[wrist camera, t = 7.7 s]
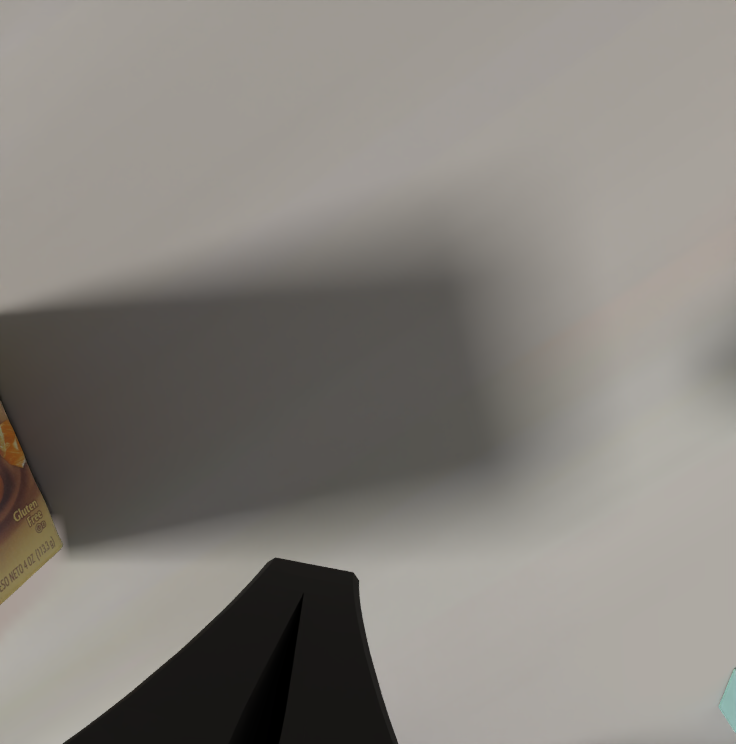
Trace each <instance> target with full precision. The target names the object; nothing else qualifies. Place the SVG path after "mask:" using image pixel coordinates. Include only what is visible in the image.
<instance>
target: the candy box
mask: <svg viewBox="0 0 736 744" xmlns="http://www.w3.org/2000/svg"><path fill="white" fill-rule="evenodd" d="M62 546H63V543H62V541H61V539H60V538H59V535H58V533H57V531H56V528H55V525H54V523H53V520H52V518H51V515H50V513H49V510H48V508H47V506H46V503H45V501H44V499H43V496H42V494H41V492H40V490H39V488H38V486H37V484H36V482H35V480H34V478H33V476H32V473H31V471H30V469H29V466H28V464H27V461H26V459H25V456H24V453H23V451H22V448H21V446H20V444H19V442H18V439H17V437H16V435H15V432H14V430H13V428H12V426H11V424H10V422H9V420H8V417H7V415H6V413H5V410H4V408H3V406H2V403H1V401H0V605H1V604H2V603H3V602H4V601H5V600H6V599H7V598H8V597H9V596H10V595H11V594H13V593H14V592H15V591H16V590H17V589H18V588H19V587H20V586H22V585H23V583H24V582H26V581H27V580H28V579H29V578H30V577H31V576H32V575H33V574H34V573H35V572H36V571H38V570H39V569H40V568H41V567H42V566H43V565H44V564H45V563H46V562H47V561H48V560H49V559H51V558H52V557H53V556H54V555H55V554H56V553H57V552H58V551H59V550H60V549H61V548H62Z"/></svg>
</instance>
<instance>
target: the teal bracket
mask: <svg viewBox="0 0 736 744" xmlns="http://www.w3.org/2000/svg"><path fill="white" fill-rule="evenodd" d="M719 708H720V710H721V711H722V713H723V715H724V716H725V718H726V719H727V721H728V722H729V724H730V725H731V727H732V728H733V730H734V731H735V733H736V669H735V668H734V670H733V673H732V675H731V678H730V680H729V683H728V685H727V687H726V690H725V692H724V695H723V697H722V700H721V702H720V705H719Z"/></svg>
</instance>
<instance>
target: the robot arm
mask: <svg viewBox="0 0 736 744" xmlns="http://www.w3.org/2000/svg"><path fill="white" fill-rule="evenodd" d="M63 744H398V742H397V739H396V736H395V733H394V730H393V727H392V725H391V722H390V719H389V716H388V713H387V710H386V706H385V703H384V700H383V697H382V694H381V690H380V687H379V683H378V680H377V676H376V673H375V669H374V665H373V662H372V658H371V655H370V651H369V646H368V642H367V638H366V633H365V628H364V623H363V618H362V612H361V605H360V597H359V580H358V578H357V577H356V576H355V574H354V573H353V572H348V571H343V570H338V569H333V568H327V567H322V566H317V565H312V564H306V563H301V562H296V561H291V560H286V559H280V558H274V559H272V560H271V561H269V562H267V563H266V565H265V566H264V567H263V568H262V569H261V571H260V572H259V573H258V574H257V575H256V576H255V577H254V578H253V580H252V581H251V582H250V583H249V584H248V585H247V586H246V587H245V588H244V589H243V590H242V591H241V592H240V593H239V594H238V596H237V597H236V598H235V599H234V600H233V601H232V602H231V603H230V604H229V605H228V606H227V607H226V608H225V609H224V610H223V611H222V612H221V613H220V614H219V615H217V616H216V617H215V618H214V619H213V620H212V621H211V622H210V623H209V624H208V625H207V626H206V627H205V628H204V629H203V630H202V631H200V632H199V633H198V634H197V635H196V636H195V637H194V638H193V639H192V640H191V641H190V642H189V643H188V644H187V645H186V646H184V647H183V648H182V649H181V650H180V651H179V652H178V653H177V654H175V655H174V656H173V657H172V658H171V659H169V660H168V661H167V662H166V663H165V664H163V665H162V666H161V667H160V668H159V669H158V670H156V671H155V672H154V673H153V674H152V675H150V676H149V677H148V678H147V679H146V680H145V681H143V682H142V683H141V684H140V685H139V686H137V687H136V688H135V689H134V690H133V691H132V692H130V693H129V694H128V695H127V696H125V697H124V698H123V699H121V700H120V701H119V702H118V703H116V704H115V705H114V706H113V707H111V708H110V709H109V710H107V711H106V712H105V713H104V714H102V715H101V716H100V717H98V718H97V719H96V720H94V721H93V722H92V723H90V724H89V725H88V726H86V727H85V728H84V729H82V730H81V731H80V732H78V733H77V734H75V735H74V736H73V737H71V738H70V739H68V740H67V741H66V742H64V743H63Z"/></svg>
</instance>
